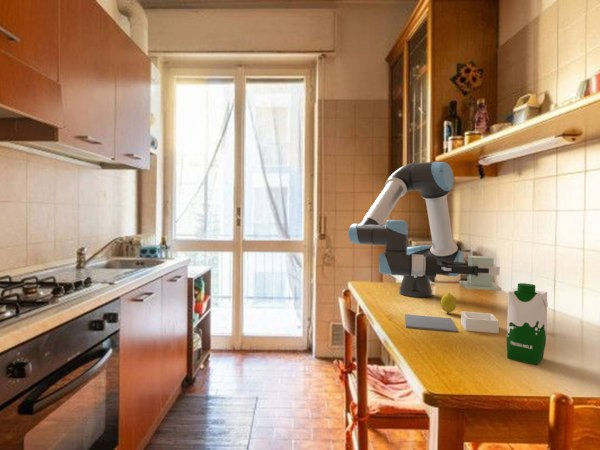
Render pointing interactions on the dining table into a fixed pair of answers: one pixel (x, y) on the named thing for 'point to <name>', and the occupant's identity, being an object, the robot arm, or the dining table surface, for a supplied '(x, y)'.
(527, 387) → the dining table surface
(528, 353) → the milk carton
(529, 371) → the dining table surface
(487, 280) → the lid
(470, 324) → the open box
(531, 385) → the dining table surface
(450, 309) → the lemon
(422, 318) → the mat
